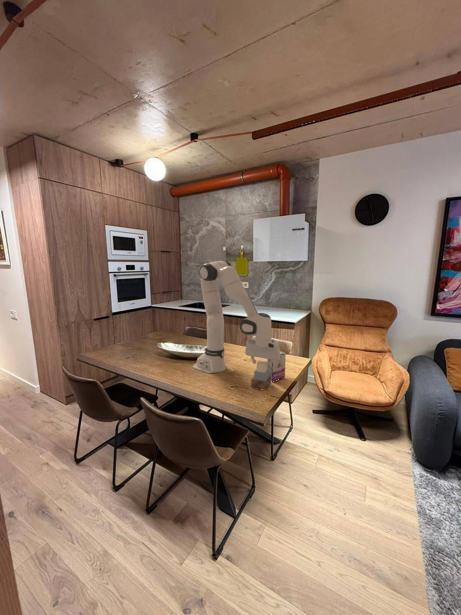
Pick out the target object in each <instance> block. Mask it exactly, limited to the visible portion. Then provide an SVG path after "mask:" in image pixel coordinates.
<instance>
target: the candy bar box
mask: <svg viewBox="0 0 461 615" xmlns="http://www.w3.org/2000/svg"><path fill="white" fill-rule="evenodd" d="M286 355H287V354H286V352H284V351H282V350H280V359H279V360H278V361H276V360H274V361H273V362H272V366H271V367H269V366H268V367H267V369H269V376H271V381H272V382H271V383H274V382H273V381H275V382H277V381H276V380H278V379H281V378H283V379H285V378H286ZM266 361H267V362H268V364H269V363H271V361H270V359H266ZM284 377H285V378H284ZM281 380H282V379H281ZM278 381H279V380H278Z"/></svg>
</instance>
